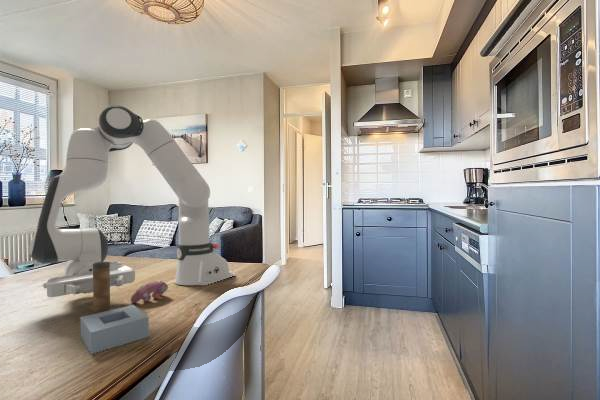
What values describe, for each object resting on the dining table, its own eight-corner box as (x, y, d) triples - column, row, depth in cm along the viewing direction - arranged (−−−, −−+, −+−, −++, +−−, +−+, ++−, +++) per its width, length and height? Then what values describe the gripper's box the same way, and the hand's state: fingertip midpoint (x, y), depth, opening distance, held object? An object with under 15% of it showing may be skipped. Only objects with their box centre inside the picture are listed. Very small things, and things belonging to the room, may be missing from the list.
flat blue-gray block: (133, 322, 77) (133, 304, 77) (148, 336, 69) (148, 317, 69) (80, 336, 69) (80, 317, 69) (91, 354, 61) (90, 332, 61)
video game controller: (136, 310, 89) (142, 291, 87) (128, 301, 91) (134, 282, 90) (166, 300, 98) (172, 282, 96) (158, 292, 100) (164, 274, 98)
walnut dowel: (108, 317, 80) (107, 261, 80) (111, 321, 78) (111, 263, 77) (92, 321, 78) (91, 263, 77) (95, 325, 75) (94, 265, 75)
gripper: (41, 272, 81) (47, 282, 71) (126, 260, 96) (141, 268, 86) (42, 295, 81) (47, 309, 71) (126, 280, 96) (141, 290, 86)
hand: (99, 286), depth 79 cm, fingers open, 8 cm apart
